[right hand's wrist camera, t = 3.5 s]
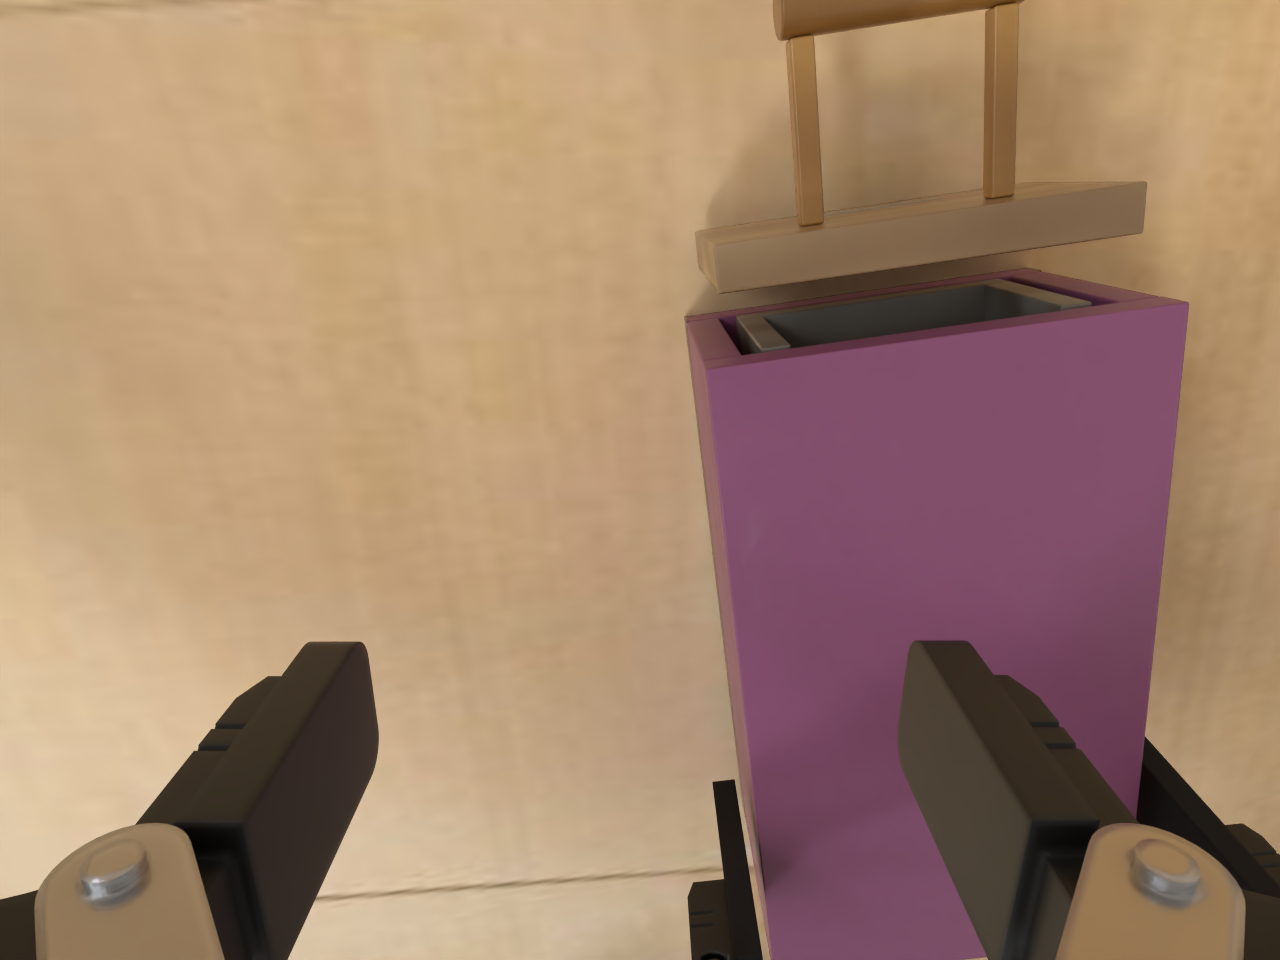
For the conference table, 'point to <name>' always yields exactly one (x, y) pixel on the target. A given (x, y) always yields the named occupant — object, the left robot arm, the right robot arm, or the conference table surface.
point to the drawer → (906, 206)
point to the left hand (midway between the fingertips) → (924, 788)
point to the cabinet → (926, 574)
